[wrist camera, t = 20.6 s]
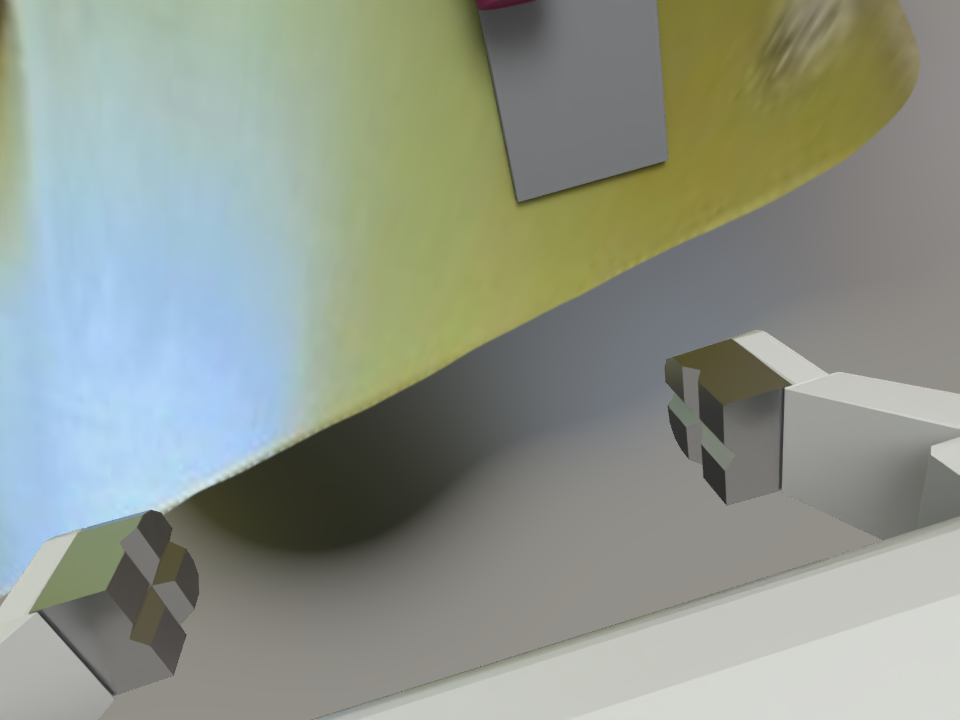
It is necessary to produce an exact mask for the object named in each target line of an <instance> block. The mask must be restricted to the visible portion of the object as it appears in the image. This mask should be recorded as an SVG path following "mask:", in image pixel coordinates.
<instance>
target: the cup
mask: <svg viewBox="0 0 960 720" xmlns="http://www.w3.org/2000/svg"><path fill="white" fill-rule="evenodd" d="M532 1H536V0H476V2H477V6H478V10H494V9H500V8H505V7H510V6H515V5H520V4H524V3H528V2H532Z"/></svg>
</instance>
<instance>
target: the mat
mask: <svg viewBox="0 0 960 720" xmlns="http://www.w3.org/2000/svg"><path fill="white" fill-rule="evenodd" d="M476 3H477V2H476ZM477 8H478V6H477ZM478 13H479V18H480V23H481V28H482V33H483V38H484V43H485V48H486V53H487V58H488V63H489V68H490V73H491V78H492V83H493V88H494V93H495V98H496V103H497V108H498V113H499V118H500V123H501V128H502V133H503V138H504V143H505V148H506V153H507V158H508V163H509V168H510V173H511V178H512V182H513V187H514V192H515V197H516V200H517V201H518V202H521V201H524V200H528V199H532V198H535V197H539V196H542V195H546V194H549V193H553V192H556V191H560V190H564V189H567V188H571V187H574V186H578V185H581V184H585V183H589V182H592V181H596V180H599V179H603V178H606V177H610V176H614V175H617V174H621V173H624V172H628V171H631V170H635V169H639V168H642V167H646V166H649V165H653V164H656V163H660V162H664V161H667V160H668V149H667V135H666V121H665V108H664V94H663V80H662V66H661V53H660V39H659V25H658V11H657V0H536V1H532V2H528V3H524V4H520V5H515V6H510V7H505V8H500V9H494V10H478Z"/></svg>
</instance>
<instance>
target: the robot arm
mask: <svg viewBox="0 0 960 720" xmlns="http://www.w3.org/2000/svg"><path fill="white" fill-rule="evenodd" d="M665 382H666V383H667V384H668V385H669V387H671V389H672V390H673V391H674V392H675V393H674V395H673V397H672V399H671V400H670V402H669V404H668V413H669V421H670V425H671V428H672V431H673V434H674V437H675V439H676V441H677V443H678V445H679V447H680V448H681V450H682V451H683V453H684V454H685V455H686V456H687V458H688V459H689V460H692V461H694V462H697V463H700V464H702V465H703V478H704V479H705V480H706V481H707V482H708V484H709V485H710V486H711V487H712V488H713V490H714V491H715V492H716V493H717V495H718V496H719V497H720V498H721V499H722V501H723V502H724V503H725V504H726V505H731V504H734V503H738V502H741V501H745V500H749V499H752V498H756V497H760V496H763V495H767V494H770V493H774V492H777V491H781V490H782V493H783V494H785V495H787V496H789V497H791V498H794V499H796V500H798V501H800V502H802V503H804V504H807V505H809V506H811V507H813V508H815V509H817V510H820V511H822V512H824V513H826V514H828V515H830V516H832V517H835V518H837V519H839V520H841V521H843V522H845V523H847V524H850V525H852V526H854V527H856V528H858V529H860V530H863V531H864V532H867V533H869V534H871V535H873V536H875V537H877V538H879V539H882V541H879V542H876V543H873V544H869V545H866V546H863V547H860V548H857V549H854V550H850V551H847V552H844V553H841V554H837V555H834V556H831V557H828V558H825V559H822V560H819V561H816V562H812V563H809V564H806V565H802V566H799V567H796V568H793V569H790V570H787V571H783V572H780V573H777V574H774V575H771V576H767V577H765V578H761V579H758V580H755V581H752V582H749V583H745V584H742V585H739V586H736V587H732V588H729V589H726V590H723V591H720V592H717V593H713V594H710V595H707V596H704V597H701V598H698V599H694V600H691V601H688V602H685V603H682V604H679V605H676V606H672V607H669V608H666V609H662V610H660V611H656V612H653V613H650V614H647V615H643V616H640V617H637V618H634V619H631V620H628V621H625V622H621V623H618V624H615V625H611V626H609V627H605V628H602V629H599V630H596V631H592V632H589V633H586V634H583V635H580V636H576V637H574V638H570V639H567V640H564V641H561V642H557V643H554V644H551V645H548V646H545V647H541V648H538V649H535V650H532V651H529V652H526V653H523V654H519V655H516V656H513V657H509V658H506V659H503V660H500V661H497V662H494V663H491V664H487V665H484V666H481V667H478V668H474V669H471V670H468V671H465V672H462V673H458V674H455V675H452V676H449V677H446V678H443V679H439V680H436V681H433V682H430V683H427V684H423V685H420V686H417V687H414V688H411V689H407V690H405V691H401V692H398V693H395V694H392V695H388V696H385V697H382V698H379V699H375V700H372V701H369V702H366V703H363V704H360V705H356V706H353V707H350V708H347V709H344V710H340V711H337V712H334V713H331V714H328V715H325V716H321V717H318V718H315V719H312V720H960V394H956V393H951V392H945V391H940V390H934V389H929V388H924V387H918V386H913V385H908V384H902V383H897V382H891V381H886V380H880V379H875V378H870V377H864V376H859V375H853V374H848V373H842V372H836V373H833V374H830V375H829V374H827V373H826V372H824V371H823V370H821V369H820V368H818V367H817V366H815V365H814V364H812V363H811V362H809V361H808V360H806V359H805V358H803V357H802V356H800V355H799V354H797V353H796V352H794V351H793V350H791V349H790V348H788V347H787V346H785V345H784V344H782V343H781V342H780V341H778V340H777V339H775V338H774V337H772V336H771V335H769V334H767V333H766V332H765V331H759V330H754V331H751V332H748V333H745V334H742V335H739V336H736V337H733V338H730V339H727V340H725V341H722V342H719V343H716V344H713V345H709V346H706V347H703V348H700V349H697V350H694V351H690V352H687V353H684V354H681V355H678V356H675V357H672V358H668V359H666V363H665ZM171 533H172V527H171V525H170V524H169V523H168V521H167V520H166V518H165V517H164V516H163V514H162V513H161V512H157V511H154V510H148V511H145V512H141V513H137V514H134V515H130V516H126V517H123V518H119V519H115V520H112V521H108V522H104V523H101V524H97V525H93V526H90V527H87V528H82V529H78V530H75V531H72V532H69V533H65V534H62V535H59V536H55V537H53V538H51V539H49V540H47V541H45V542H44V543H43V544H42V546H41V547H40V549H39V550H38V552H37V553H36V555H35V556H34V558H33V559H32V561H31V562H30V564H29V565H28V567H27V568H26V570H25V571H24V572H23V574H22V575H21V577H20V578H19V580H18V581H17V583H16V584H15V586H14V587H13V589H12V590H11V592H10V593H9V595H8V596H7V598H6V599H5V601H4V602H3V604H2V605H1V606H0V720H99V719H100V717H101V716H102V715H103V713H104V712H105V711H106V710H107V708H108V707H109V706H110V704H111V703H112V702H113V700H114V697H113V696H115V695H118V694H121V693H124V692H127V691H129V690H133V689H136V688H139V687H141V686H145V685H147V684H150V683H153V682H156V681H159V680H162V679H165V678H168V677H171V676H174V673H175V670H176V667H177V663H178V660H179V657H180V653H181V651H182V647H183V644H184V641H185V638H186V633H185V632H184V630H183V629H182V627H181V626H180V625H181V624H182V623H183V622H184V621H185V619H186V618H187V617H188V616H189V615H190V614H191V613H192V611H194V609H195V606H196V602H197V599H198V595H199V578H198V577H199V576H198V572H197V569H196V566H195V563H194V560H193V559H192V557H191V555H190V554H189V552H188V551H187V549H186V548H183V547H181V546H179V545H177V544H174V543H172V542H170V537H171Z"/></svg>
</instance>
